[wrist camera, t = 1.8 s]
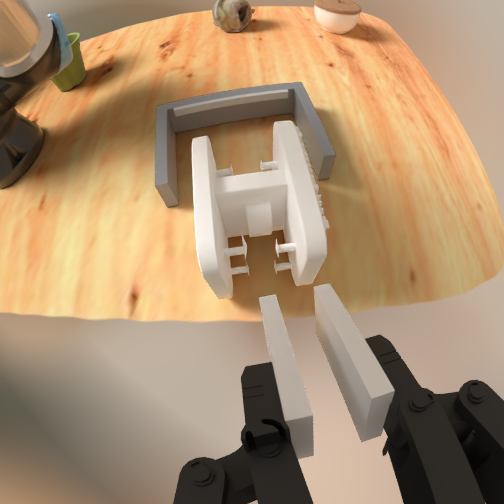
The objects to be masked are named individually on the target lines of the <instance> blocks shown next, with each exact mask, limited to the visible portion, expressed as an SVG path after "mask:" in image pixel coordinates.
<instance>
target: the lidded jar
mask: <svg viewBox="0 0 504 504" xmlns="http://www.w3.org/2000/svg"><path fill="white" fill-rule="evenodd" d="M314 12H315V17H316V20H317V21H318V23H319V24H320V25H321V26H322V28H323V29H324V30H326V31H328V32H331V33H335V34H345V33H347V31H350V30H351V29H353V28H354V27H355V26H356V24H357V22H358V20H359V16H360V12H361V6H360V5H358V4H357V3H355V2H353V1H351V0H314Z"/></svg>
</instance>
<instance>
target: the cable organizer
mask: <svg viewBox="0 0 504 504" xmlns="http://www.w3.org/2000/svg"><path fill="white" fill-rule="evenodd" d="M230 164H231V163H230ZM260 169H261V172H256V173H248V174H241V175H234V176H233V169H232V166H231V168H227V169H220V170H217V168H216V164H215V159H214V155H213V151H212V147H211V143H210V140H209V137H208V136H202V137H196V138H193V140H192V177H193V200H194V219H195V235H196V249H197V256H198V262H199V266H200V270H201V273H202V275H203V277H204V279H205V280H206V282H207V283H208V285H209V286H210V287H211V289H212V290H213V292H214V293H215V295H216V296H217V297H218V299H225V298H232V296H233V281H232V275H233V274H240V273H247V272H248V276H249V267H248V264H247V266H242V267H235V268H231V264H230V256H234V255H242V254H244V255H245V260H246V253H247V244H246V242H245V240H244V237H243V235H249V236H250V237H257V236H264V235H271V234H272V231H277V230H283V233H284V238H285V243H286V244H280V245H277V239H276V248H275V249H276V253H277V257H279V253H282V252H287V253H288V258H289V262H287V263H280V264H276V262H274V269H275V272H276V274H277V271H279V270H286V269H291V273H292V277H293V280H294V282H295V284H296V286H302V285H308V284H312V283H313V281H314V280H315V278H316V276H317V274H318V272H319V270H320V268H321V266H322V264H323V263H324V261H325V259H326V256H327V237H326V230H327V229H328V228H330V226H329V223H328V220H326V217H325V216H323V214H324V209H323V207H322V208H321V206H322V201H321V200H320V199H321V195H319V194H317V193H318V189H319V187H318V184H316V182H315V179H314V175H313V174H312V169H313V168H311V165H310V164H309V158H308V152H306V149H305V148H304V143H303V142H302V133H300V130H299V128H298V126H295V125H294V123H293V122H292V121H291V120H288V121H277V122H274V125H273V161H270V162H260ZM265 169H273V170H271V171H263V170H265ZM229 175H232V176H229ZM222 176H228V177H222ZM219 177H221V178H219ZM235 236H242V241H243V246H241V247H233V248H229V247H228V238H227V237H235ZM246 263H247V261H246Z"/></svg>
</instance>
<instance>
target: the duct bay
mask: <svg viewBox="0 0 504 504" xmlns="http://www.w3.org/2000/svg"><path fill="white" fill-rule="evenodd" d="M289 113H293V116H294V118H295V120H296V123H297V125H298V128H299V130H300V133H302V138H303V141H304V143H305V146H306V149H307V151H308V154H309V157H310V159H311V162H312V165H313V167H314V170H315V173H316V176H317V179H318V180H323V179H329V177H330V173H331V170H332V166H333V163H334V159H335V156H336V154H335V151H334V149H333V147H332V145H331V142H330V140H329V138H328V136H327V133H326V131H325V129H324V127H323V125H322V123H321V120H320V118H319V116H318V114H317V112H316V110H315V108H314V106H313V104H312V102H311V100H310V98H309V96H308V94H307V92H306V90H305V88H304V86H303V84H302V82H295V83H283V84H273V85H265V86H256V87H249V88H242V89H236V90H229V91H223V92H218V93H212V94H207V95H202V96H197V97H192V98H188V99H183V100H179V101H175V102H171V103H167V104H163V105H159V106H157V112H156V138H155V187H156V188H157V190H158V192H159V194H160V195H161V197H162V199H163V201H164V202H165V204H166V206H167V207H171V206H176V205H179V203H178V188H177V170H176V147H175V133H178V132H182V131H187V130H191V129H196V128H201V127H206V126H211V125H216V124H221V123H227V122H232V121H238V120H245V119H251V118H258V117H265V116H273V115H281V114H289Z"/></svg>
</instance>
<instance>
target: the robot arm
mask: <svg viewBox="0 0 504 504" xmlns="http://www.w3.org/2000/svg"><path fill="white" fill-rule="evenodd" d="M68 40H69V39H68V35H67V33H66V30H65V28H64V25H63V23H62V21H61V19H60V17H59V15H58V14H57V13H51V14H48V15H46V14H44V13H41V12H34V11H33V9H32V7H31V6H30V4H29V2H28V1H27V0H0V188H5V187H7V186H9V185H11V184H12V183H14V182H15V181H16V180H18V179H19V178H20V177H21V176H22V175H23V174H24V173H25V172H26V171H27V169H28V168H29V167H30V166H31V164H32V163H33V162H34V160H35V159H36V157H37V155H38V153H39V151H40V149H41V147H42V144H43V141H44V132H43V131H42V129H41V128H40V127H39V125H38V124H37V123H35V122H33V121H30V120H29V119H27V118H26V117H24V116H23V115H21V114H19V113H18V112H17V111H16V110H15V108H14V106H15V105H16V104H17V103H18V102H20V101H21V100H22V99H23V98H25V97H26V96H27V95H29V94H30V93H31V92H32V91H34V90H35V89H36V88H38V87H39V86H40V85H42V84H43V83H45V82H46V81H47V80H49V79H50V78H52V77H53V76H54V75H58V74H59V73H60V72H61V71H62V70H63V69H64V68H66V67H67V66H69V65H70V63H71V62H72V59H73V53H72V48H71V45H70V42H69V41H68ZM314 301H315V318H316V334H317V336H318V338H319V341H320V343H321V345H322V347H323V350H324V352H325V355H326V357H327V359H328V362H329V364H330V366H331V369H332V371H333V374H334V376H335V378H336V380H337V383H338V386H339V388H340V390H341V393H342V395H343V397H344V400H345V403H346V405H347V407H348V410H349V412H350V415H351V417H352V420H353V422H354V425H355V427H356V430H357V432H358V435H359V437H360V440H361V442H363V441H366V440H369V439H372V438H375V437H378V436H381V434H382V431H383V428H384V430H385V432H386V434H387V436H388V438H387V441H386V443H385V446H384V448H383V456H384V455H386V453H387V451H388V453H389V455H390V459H391V462H392V465H393V469H394V472H395V475H396V479H397V482H398V485H399V489H400V492H401V496H402V499H403V503H404V504H485V503H486V504H504V401H503V400H502V399H501V398H500V397H499V396H498V395H497V394H496V393H495V392H494V391H493V390H492V389H491V388H490V387H489V386H488V385H487V384H485V383H484V382H482V381H478V380H471V381H468V382H466V383H464V384H463V386H462V387H461V388H460V390H459V392H453V393H447V394H434V393H433V392H432V391H430V390H428V389H425V388H422V387H421V386H420V385H419V384H418V382H417V381H416V379H415V378H414V376H413V375H412V373H411V371H410V370H409V368H408V367H407V365H406V364H405V362H404V361H403V360H402V359H401V357H400V355H399V354H398V352H396V349H395V348H394V346H393V345H392V343H391V342H390V341H389V340H388V339H386V338H384V337H383V336H381V335H377V336H373V337H370V338H366V339H364V337H363V336H362V334H361V332H360V331H359V329H358V327H357V326H356V324H355V323H354V321H353V319H352V318H351V316H350V315H349V313H348V311H347V310H346V308H345V307H344V305H343V303H342V302H341V300H340V299H339V297H338V296H337V294H336V292H335V291H334V289H333V288H332V286H331V285H330V283H328V284H323V285H318V286H314ZM259 302H260V307H261V313H262V319H263V324H264V330H265V336H266V341H267V346H268V351H269V355H270V361H271V362H269V363H263V364H257V365H252V366H246V367H245V369H244V372H243V374H242V376H241V383H242V393H243V404H244V413H245V423H246V425H245V426H244V428H243V430H242V431H241V441H242V444H243V445H242V446H241V447H240V448H239V449H238V450H237V451H235V452H233V453H232V454H230V455H227V456H225V457H222V458H220V459H217V460H214V459H211V458H206V457H201V458H195V459H193V460H191V461H189V462H188V463H187V464H185V466H183V468H182V470H181V472H180V475H179V480H178V484H177V489H176V494H175V498H174V502H173V504H248V503H250V502H253V501H255V500H258V504H313V501H312V498H311V496H310V493H309V490H308V487H307V485H306V482H305V479H304V476H303V473H302V471H301V467H300V465H299V462H298V459H300V458H304V457H309V456H313V414H312V411H311V407H310V404H309V401H308V397H307V394H306V391H305V388H304V384H303V381H302V378H301V374H300V371H299V368H298V365H297V362H296V358H295V355H294V352H293V348H292V345H291V342H290V339H289V335H288V332H287V329H286V326H285V323H284V319H283V316H282V313H281V310H280V306H279V303H278V300H277V297H276V294H274V295H269V296H264V297H259ZM484 501H485V502H484Z"/></svg>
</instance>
